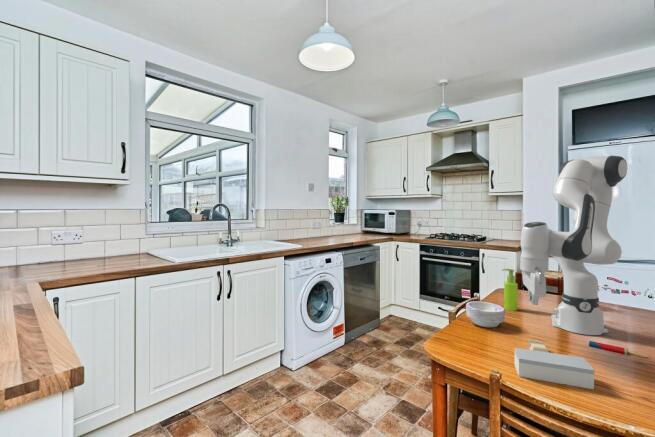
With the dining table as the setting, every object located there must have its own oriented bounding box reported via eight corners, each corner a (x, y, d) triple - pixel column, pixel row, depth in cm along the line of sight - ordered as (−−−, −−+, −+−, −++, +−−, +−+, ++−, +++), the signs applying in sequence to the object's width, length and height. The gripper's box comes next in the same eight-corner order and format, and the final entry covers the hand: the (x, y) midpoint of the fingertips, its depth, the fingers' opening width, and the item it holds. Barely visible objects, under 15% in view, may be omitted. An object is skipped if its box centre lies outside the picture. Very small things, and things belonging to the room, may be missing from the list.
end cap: (514, 364, 102) (514, 347, 102) (583, 375, 95) (583, 357, 95) (518, 376, 94) (519, 358, 94) (593, 389, 87) (594, 370, 87)
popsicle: (647, 357, 105) (588, 344, 115) (647, 361, 105) (588, 348, 115) (646, 352, 108) (589, 340, 118) (646, 356, 108) (589, 344, 118)
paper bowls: (513, 327, 133) (513, 309, 133) (484, 332, 129) (484, 312, 128) (485, 316, 148) (485, 299, 148) (458, 319, 143) (458, 302, 143)
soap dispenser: (502, 306, 164) (502, 267, 163) (517, 308, 159) (518, 269, 159) (500, 308, 159) (501, 269, 158) (516, 311, 155) (517, 270, 154)
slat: (528, 347, 115) (529, 339, 115) (541, 349, 113) (542, 341, 113) (539, 368, 100) (539, 358, 100) (554, 370, 99) (554, 361, 98)
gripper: (551, 271, 107) (551, 312, 107) (537, 262, 125) (537, 296, 126) (530, 270, 109) (529, 310, 109) (519, 261, 128) (518, 295, 128)
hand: (533, 302), depth 118 cm, fingers open, 3 cm apart
